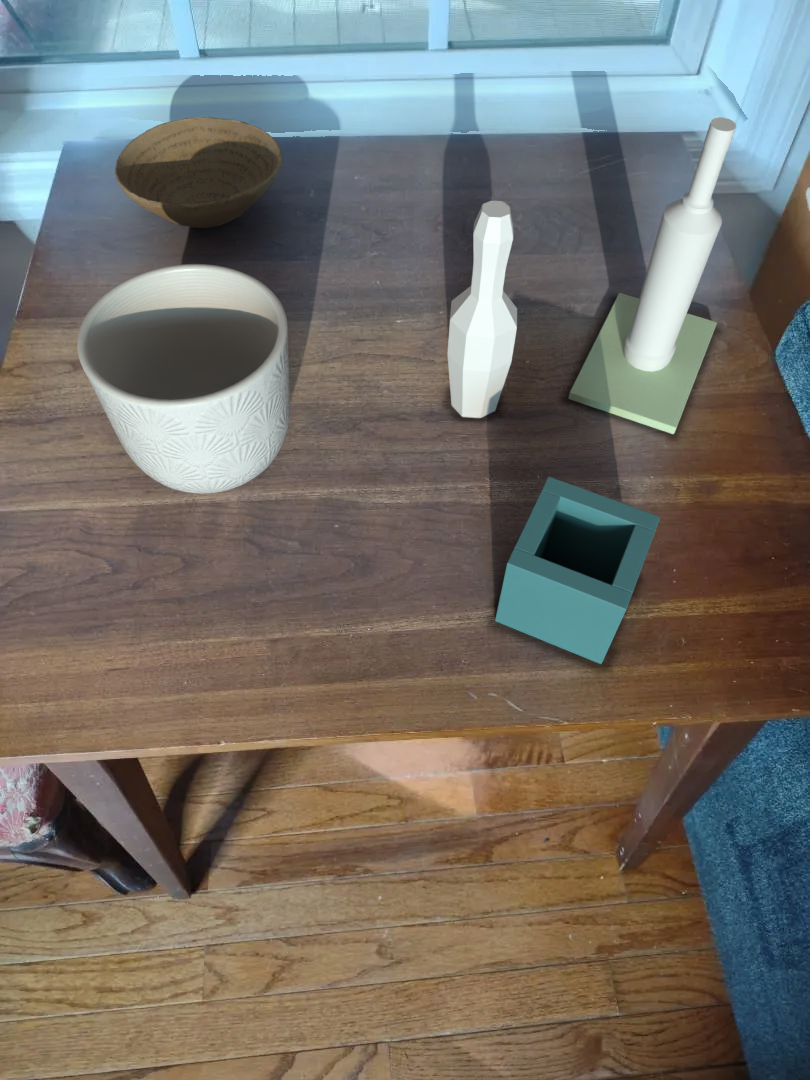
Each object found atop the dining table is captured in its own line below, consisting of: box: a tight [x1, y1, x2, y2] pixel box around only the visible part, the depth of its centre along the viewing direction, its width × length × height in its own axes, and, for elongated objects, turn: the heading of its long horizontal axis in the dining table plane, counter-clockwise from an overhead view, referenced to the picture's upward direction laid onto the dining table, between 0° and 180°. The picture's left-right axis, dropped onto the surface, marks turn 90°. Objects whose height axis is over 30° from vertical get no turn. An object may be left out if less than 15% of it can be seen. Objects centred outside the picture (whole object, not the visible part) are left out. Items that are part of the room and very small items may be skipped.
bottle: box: [624, 117, 737, 372], centre depth 80 cm, size 5×5×25 cm
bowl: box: [114, 116, 283, 229], centre depth 100 cm, size 18×18×8 cm
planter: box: [76, 263, 291, 495], centre depth 77 cm, size 17×17×15 cm
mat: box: [567, 292, 718, 435], centre depth 90 cm, size 11×17×1 cm, turn 155°
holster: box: [494, 476, 661, 665], centre depth 70 cm, size 9×9×9 cm
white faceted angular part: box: [447, 200, 518, 419], centre depth 78 cm, size 6×6×22 cm
